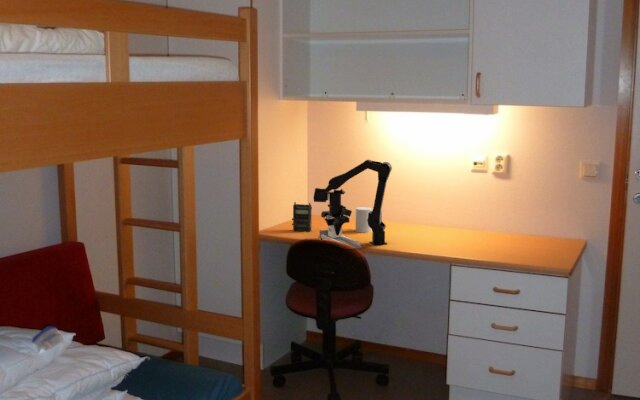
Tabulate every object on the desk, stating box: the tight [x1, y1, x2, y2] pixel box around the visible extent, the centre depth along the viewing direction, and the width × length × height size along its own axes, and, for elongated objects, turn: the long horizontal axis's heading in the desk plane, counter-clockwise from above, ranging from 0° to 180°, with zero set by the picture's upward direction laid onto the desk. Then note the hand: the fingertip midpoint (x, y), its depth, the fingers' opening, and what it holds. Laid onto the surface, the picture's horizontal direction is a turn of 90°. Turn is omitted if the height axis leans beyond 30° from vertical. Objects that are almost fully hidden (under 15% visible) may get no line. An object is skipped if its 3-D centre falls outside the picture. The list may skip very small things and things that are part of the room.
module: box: [327, 225, 343, 238], centre depth 351 cm, size 5×5×5 cm
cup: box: [355, 206, 372, 234], centre depth 374 cm, size 8×8×12 cm
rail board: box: [317, 229, 363, 249], centre depth 347 cm, size 26×10×4 cm, turn 27°
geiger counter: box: [291, 201, 313, 233], centre depth 373 cm, size 10×4×15 cm, turn 77°
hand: (334, 234), depth 351 cm, fingers closed on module, 5 cm apart
